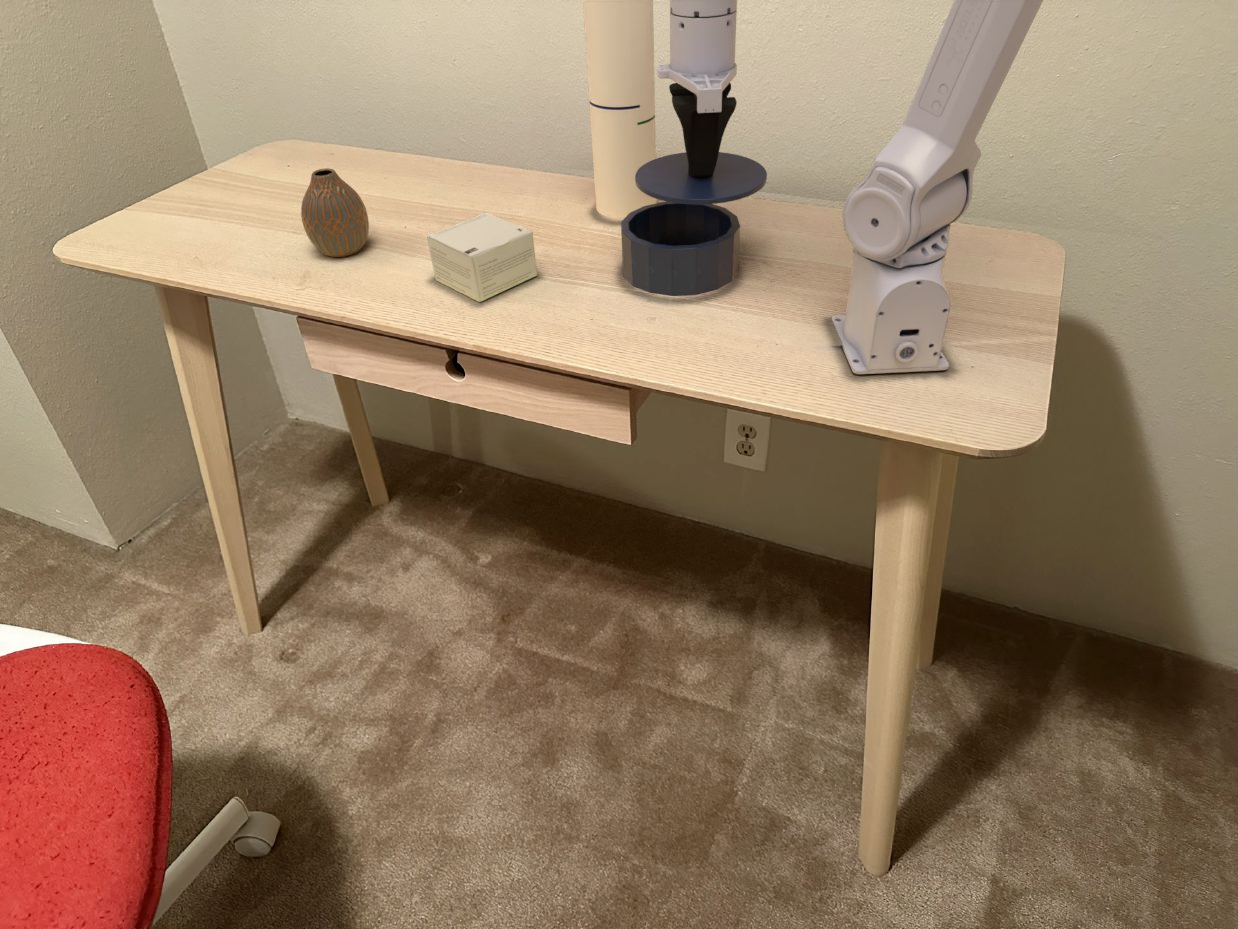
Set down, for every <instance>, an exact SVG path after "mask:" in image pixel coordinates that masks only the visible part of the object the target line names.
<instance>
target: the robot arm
mask: <svg viewBox="0 0 1238 929" xmlns="http://www.w3.org/2000/svg"><path fill="white" fill-rule="evenodd" d="M1043 2H1044V0H953V3H952V5H951V8H950V9H949V12H948V15H947V17H946V19H945V22H944V24H943V27H942V28H941V31H940V34H939V36H938V38H937V41H936V43H935V45H934V47H933V50H932V53H931V56H930V58H929V60H928V63H927V65H926V68H925V70H924V73H923V75H922V77H921V80H920V82H919V84H918V87H917V89H916V92H915V94H914V96H913V99H912V102H911V103H910V105H909V106H910V107H909V108H908V111H907V113H906V115H905V118H904V121H903V123H902V124H901V127H900V128H899V129H898V130H897V132H896V133H895V134H894V135H893V136H892V138H891V139H890V140H889V141H888V142H887V143H886V144H885V146H884V147H883V148H882V149H881V151H879V153H878V155H876V157H875V158H874V160H873V162H872V163H871V164H872V165H871V166H870V170H869V171H868V173H867V174H866V176H865V177H864V179H863V180H862V181H861V182H859V184H858V185H856V186H855V187H854V188H853V189H852V190H850V192H849V193H848V195H847V197H846V199H845V201H844V204H843V208H842V226H843V230H844V232H845V236H846V237H847V239H848V241H849V243H850V244H851V245H852V247H853V248H852V254H853V260H852V267H851V273H850V282H849V289H848V296H847V303H846V309H845V314H844V313H843V314H833V315H831V317H830V319H831V320H832V323H833V325H834V327H835V330H836V332H837V335H838V337H839V340H840V342H841V344H842V345H841V348H842V351H843V352H844V355H845V357H846V359H847V362H848V364H849V366H850V369H851V372H852V373H854V374H855V375H873V374H875V375H877V374H895V373H896V374H897V373H914V372H915V373H916V372H936V371H939V372H940V371H946V370H948V369H949V367H950V363H949V361H948V360H947V358H946V356H945V355H944V352H942V348H943V343H944V340H945V336H946V331H947V326H948V322H949V317H950V313H951V307H952V304H951V296H950V294H949V291H948V289H947V287H946V284H945V281H944V275H943V274H944V271H943V270H944V267H945V266H944V265H945V261H946V256H947V251H948V246H949V235H950V231H951V227H952V226H951V224H954V223H955V222H957V221H958V220H959V219H961V217H962V216H964V214H965V213H966V211H967V210H968V208H969V207H970V204H971V201H972V198H973V197H972V196H973V179H974V173H975V169H976V167H977V164H978V163H979V160H980V159H981V156H982V151H981V149H980V147H979V146H978V145H977V143H976V139H977V137H978V135H979V132H980V131H981V128H982V127H983V124H984V122H985V120H986V118H987V116H988V114H989V112H990V110H991V108H992V106H993V104H994V102H995V100H996V98H997V96H998V94H999V92H1000V89H1001V88H1002V86H1003V84H1004V81H1005V79H1006V77H1007V75H1008V73H1009V71H1010V70H1011V68H1012V65H1013V64H1014V61H1015V59H1016V57H1017V55H1018V53H1019V51H1020V49H1021V47H1022V45H1023V43H1024V41H1025V39H1026V36H1027V34H1028V32H1029V31H1030V29H1031V26H1032V24H1033V22H1034V20H1035V18H1036V16H1037V14H1038V12H1039V10H1040V8H1041V5H1042V4H1043ZM737 8H738V0H669V60H670V61H669V63H666V64H658V65H657V66H656V75H657V78H658V79H662V80H663V79H669V80H671V81H673V82H674V83H671V84H670V85H669V86H668V88H669V93H670V95H671V103H672V107H673V110H674V112H675V114H676V116H677V118H678V120H679V122H680V126H681V128H682V129H681V130H682V135H683V142H684V148H685V152H686V154H687V159H688V163H689V168H690V172H691V175H692V176H703V175H713V173H714V170H715V167H716V163H717V159H718V154H719V152H720V149H721V145H722V140H723V137H724V134H725V131H726V128H727V126H728V124H729V121H730V119H731V117H732V116H733V114H734V113H735V110H736V107H737V103H738V101H737V99H736V97H735V96H729V94H730V92H731V90H732V84H731V82H732V81H733V79H735V77H736V76H737V73H738V72H737V71H738V64H737V63H736V42H737V35H736V34H737V15H738V14H737V13H738V12H737V11H738V9H737ZM837 320H839V321H837Z"/></svg>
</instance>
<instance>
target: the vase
mask: <svg viewBox="0 0 1238 929" xmlns="http://www.w3.org/2000/svg"><path fill="white" fill-rule="evenodd" d="M310 175H311V177H310V183H309V184H308V187H307V189H306V191H305V193H304V196H303V198H302V201H301V208H300V215H301V222H302V226H303V229H304V232H305V234H306V236H307V238H308V239H309V241H310V243H311V244H312V245H313V246H314V247H315V248H316V249H317V250H318V251H320V253H323V254H324V255H326V256H328V257H332V258H343V257H348V256H352V255H354V254H356V253H358V252H359V251H361V250H362V248H363V247H364V245H365V244H366V242H367V240H368V237H369V233H370V232H369V231H370V221H369V216H368V210H367V207H366V206H365V203H364V201H363V200H362V197H361V196H360V195H359V194H358V192H357V191H356V190H355V189H354V188H353V187H352V186H351V185H350V184H348V183H347V182H346V181H345V180H344V179H342V178H341V177H340V176H339V175H338V173H337V172H336V171H335V169H333V168H329V167H327V168H319V169H317V170H314V171H313V172H312V173H311V174H310Z"/></svg>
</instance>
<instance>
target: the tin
mask: <svg viewBox="0 0 1238 929" xmlns="http://www.w3.org/2000/svg"><path fill="white" fill-rule="evenodd" d="M620 231H621V232H620V233H621V256H622V257H621V258H622V276H623V278H624V279H625V281H627V282H628V283H629V284H630V285H631V286H632V287H634V288H636V289H639V290H641V291H644V292H646V293H649V294H653V295H654V294H655V295H660V296H661V295H662V296H668V297H685V296H698V295H703V294H705V293H710V292H715V291H718V290H719V289H721V288H723V287H724V286H727V285H728V284H729V283H732V282H733V280H734V278H735V277H736V275H737V274H738V272H739V261H740V260H739V259H740V238H741V237H740V236H741V223H740V220H739V218H738V215H736V214H734V213H733V212H732V211H731V210H729V209H728V208H725V207H724V206H720V205H718V204H699V205H696V204H679V203H672V202H667V201H660V202H657V203H656V204H651V205H647V206H643V207H641V208H639V209H637V210H635V211H633V212H630V213H629V214H628V215H627V216H626V217H625V218H622V220H621V222H620Z"/></svg>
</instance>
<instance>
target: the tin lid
mask: <svg viewBox="0 0 1238 929" xmlns="http://www.w3.org/2000/svg"><path fill="white" fill-rule="evenodd" d="M767 179H768V173H767V170H766V168H765V167H764V166H763V165H762V164H761V163H759V161H757V160H754V159H752V158H749V157H747V156H743V155H739V154H735V153H729V152H724V151H723V152H721V151H719V154H718V159H717V163H716V167H715V170H714V173H713V175H703V176H692V175H691V172H690V168H689V163H688V159H687V154H686V151H685V152H678V153H672V154H667V155H664V156H660V157H656V159H654V160H652V161H649V162H647V163H646V164H644V165H643V166H641V167H640V168H639V169H638V170H637V172H636V174H635V182H636V185H637V187H638V188H639V189H640V190H641V191H642V192H643V193H645V194H646V195H648V196H650V197H653V198H656V199H657V200H659V201H662V202H666V201H667V202H672V203H679V204H696V205H699V204H714V205H718V204H723V203H730V202H734V201H739V200H742V199H745V198H748V197H750V196H752V195H754V194H756V193H758V192H760V190H762V189H763V188H764V187H765V185H766V183H767V181H768V180H767Z"/></svg>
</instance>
